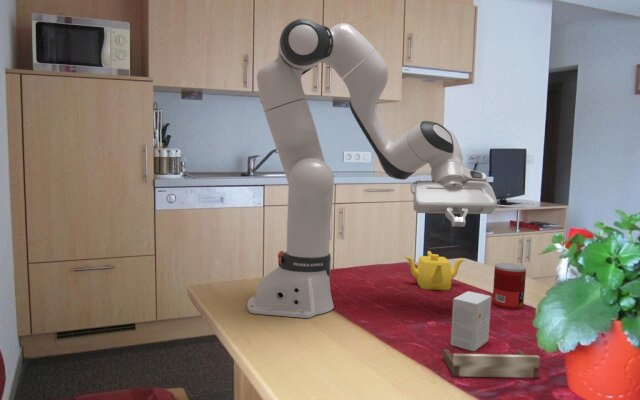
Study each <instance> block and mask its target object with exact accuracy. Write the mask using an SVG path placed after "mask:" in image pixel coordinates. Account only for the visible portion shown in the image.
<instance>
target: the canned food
mask: <svg viewBox="0 0 640 400" xmlns="http://www.w3.org/2000/svg"><path fill="white" fill-rule="evenodd" d="M493 274H494V275H493V289H492V290H493V291H492V304H493V305H494V306H495V307H498V308H501V309H505V310H520V309H522V308H523V306H524V303H525V302H524V301H525V291H526V278H527V277H526V274H527V268H526V266H524V265H523V264H518V263H513V262H512V263H510V262H497V263H495V265H494V271H493Z"/></svg>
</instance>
